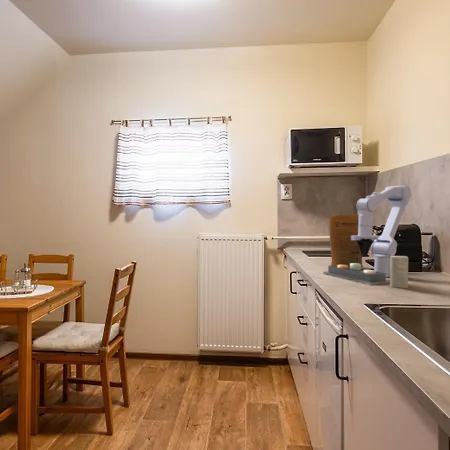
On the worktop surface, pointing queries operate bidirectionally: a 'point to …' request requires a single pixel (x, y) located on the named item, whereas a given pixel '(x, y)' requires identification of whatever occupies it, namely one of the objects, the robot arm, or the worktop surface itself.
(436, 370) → the worktop surface
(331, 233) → the pancake mix bag
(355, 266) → the sage button
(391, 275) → the skincare box
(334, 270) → the button panel
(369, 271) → the ivory button
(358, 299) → the worktop surface
